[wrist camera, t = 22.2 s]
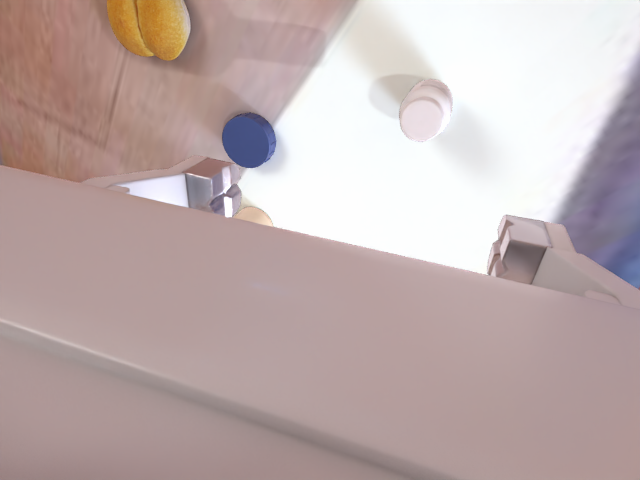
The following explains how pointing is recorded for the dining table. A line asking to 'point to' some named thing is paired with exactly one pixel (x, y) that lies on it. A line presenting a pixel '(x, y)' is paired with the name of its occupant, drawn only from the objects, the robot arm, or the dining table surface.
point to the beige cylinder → (254, 216)
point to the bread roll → (150, 26)
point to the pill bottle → (426, 110)
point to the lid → (249, 140)
